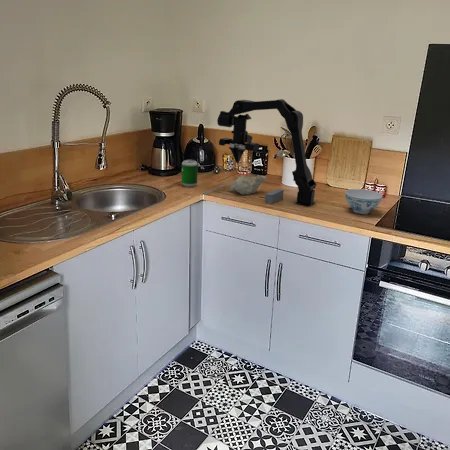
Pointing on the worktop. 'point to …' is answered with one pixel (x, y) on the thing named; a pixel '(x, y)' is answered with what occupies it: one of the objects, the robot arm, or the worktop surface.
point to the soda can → (189, 173)
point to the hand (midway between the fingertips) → (237, 162)
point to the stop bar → (274, 196)
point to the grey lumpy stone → (247, 184)
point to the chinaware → (362, 200)
